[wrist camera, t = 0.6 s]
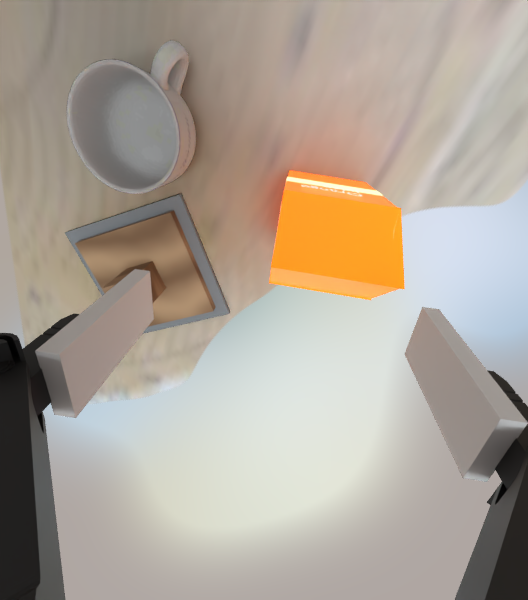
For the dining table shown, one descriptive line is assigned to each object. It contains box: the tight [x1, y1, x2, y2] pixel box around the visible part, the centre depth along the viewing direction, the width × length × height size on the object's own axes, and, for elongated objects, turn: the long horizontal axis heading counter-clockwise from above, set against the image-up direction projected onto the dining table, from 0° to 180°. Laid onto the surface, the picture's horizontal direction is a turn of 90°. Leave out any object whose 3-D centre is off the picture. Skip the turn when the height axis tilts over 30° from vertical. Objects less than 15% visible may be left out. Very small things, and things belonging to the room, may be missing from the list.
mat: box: [65, 194, 230, 334], centre depth 44 cm, size 17×17×1 cm
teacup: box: [67, 40, 196, 194], centre depth 32 cm, size 14×11×8 cm
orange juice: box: [269, 170, 404, 300], centre depth 29 cm, size 8×9×20 cm
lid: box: [75, 210, 215, 327], centre depth 40 cm, size 14×14×7 cm
